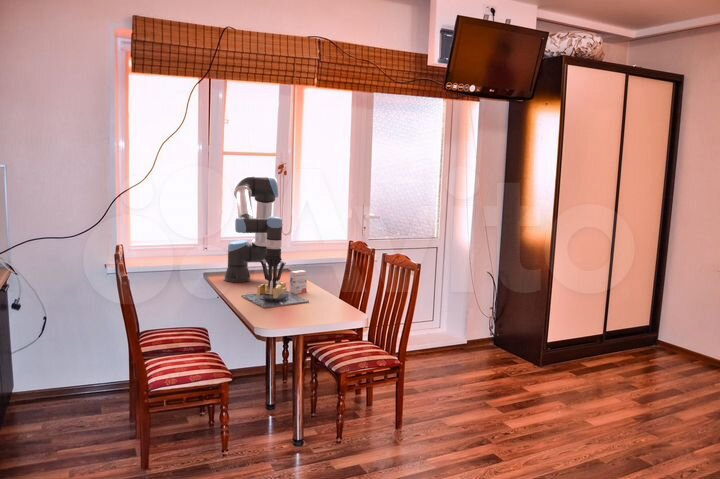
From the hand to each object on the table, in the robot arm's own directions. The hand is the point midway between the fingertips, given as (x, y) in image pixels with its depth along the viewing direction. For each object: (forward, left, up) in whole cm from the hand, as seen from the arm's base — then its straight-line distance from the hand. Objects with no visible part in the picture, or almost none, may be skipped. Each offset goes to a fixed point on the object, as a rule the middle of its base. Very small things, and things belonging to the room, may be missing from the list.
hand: (271, 293), depth 296 cm
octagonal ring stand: (-6, +4, -1) cm, 7 cm away
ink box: (-17, +25, -6) cm, 31 cm away
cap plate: (-8, +6, -6) cm, 12 cm away
